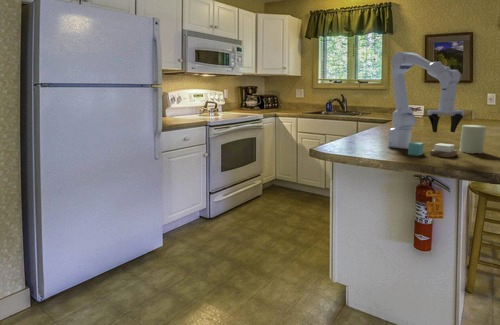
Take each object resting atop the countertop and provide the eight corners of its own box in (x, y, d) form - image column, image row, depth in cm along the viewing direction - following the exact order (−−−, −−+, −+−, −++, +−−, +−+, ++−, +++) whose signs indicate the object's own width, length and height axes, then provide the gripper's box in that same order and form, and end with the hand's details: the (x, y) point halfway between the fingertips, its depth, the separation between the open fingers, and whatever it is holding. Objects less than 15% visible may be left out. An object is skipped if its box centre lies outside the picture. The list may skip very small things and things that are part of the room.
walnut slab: (429, 156, 157) (430, 150, 156) (436, 153, 162) (437, 148, 162) (450, 158, 151) (450, 152, 151) (456, 156, 157) (457, 150, 156)
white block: (434, 150, 157) (434, 144, 156) (438, 148, 161) (439, 143, 160) (449, 152, 152) (450, 146, 152) (453, 150, 157) (454, 144, 156)
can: (483, 154, 158) (486, 126, 156) (458, 152, 163) (461, 125, 160) (482, 151, 166) (486, 124, 163) (459, 149, 171) (462, 123, 168)
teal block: (407, 154, 158) (408, 143, 157) (412, 153, 161) (413, 141, 160) (418, 155, 155) (419, 144, 154) (422, 154, 158) (423, 143, 157)
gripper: (434, 100, 149) (431, 133, 152) (470, 100, 149) (466, 133, 152) (426, 99, 156) (423, 131, 159) (460, 99, 156) (456, 131, 159)
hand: (443, 132), depth 156 cm, fingers open, 7 cm apart
